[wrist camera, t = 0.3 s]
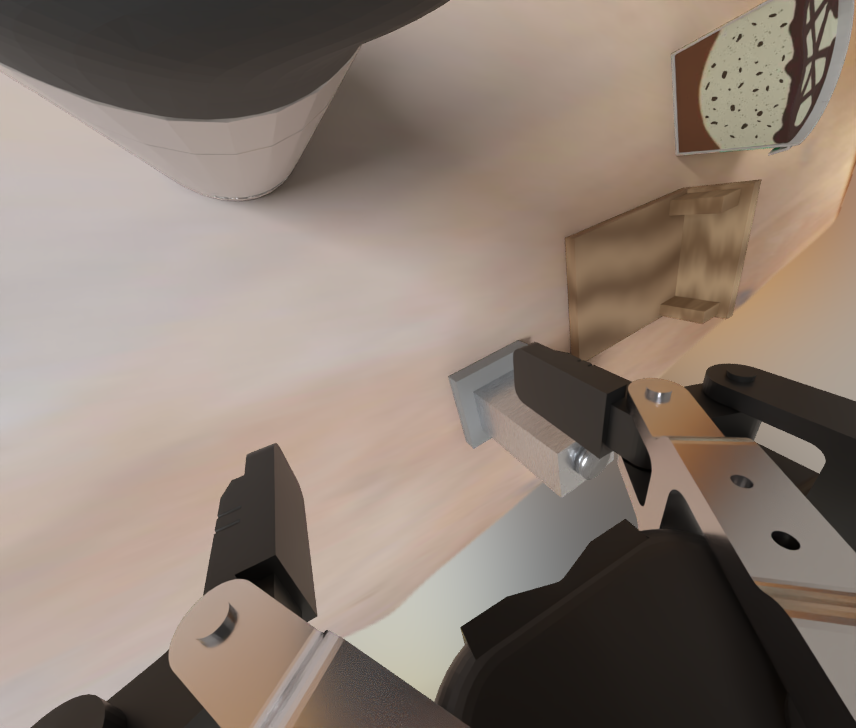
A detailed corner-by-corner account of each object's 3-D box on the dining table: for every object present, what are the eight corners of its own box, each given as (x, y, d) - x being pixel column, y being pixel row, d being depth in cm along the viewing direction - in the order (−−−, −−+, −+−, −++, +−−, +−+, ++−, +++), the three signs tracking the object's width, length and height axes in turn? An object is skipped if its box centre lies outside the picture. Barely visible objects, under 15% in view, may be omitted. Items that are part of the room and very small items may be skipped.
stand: (448, 376, 32) (456, 382, 31) (518, 340, 35) (527, 344, 34) (466, 441, 37) (473, 448, 35) (527, 404, 39) (536, 410, 38)
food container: (710, 142, 38) (838, 116, 29) (676, 169, 37) (798, 151, 29) (711, 5, 31) (876, -77, 23) (670, 34, 30) (826, -41, 22)
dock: (565, 238, 33) (633, 239, 27) (682, 187, 38) (761, 179, 32) (571, 361, 40) (626, 384, 34) (670, 304, 45) (732, 315, 39)
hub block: (472, 391, 32) (566, 460, 23) (519, 366, 34) (624, 420, 24) (481, 428, 35) (569, 505, 25) (524, 403, 37) (622, 465, 27)
